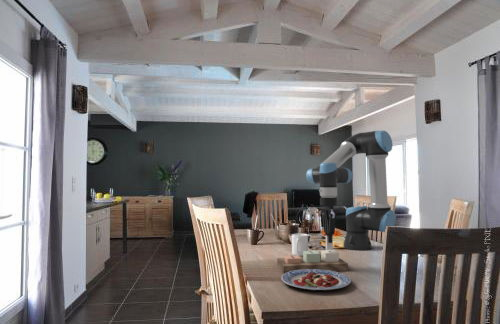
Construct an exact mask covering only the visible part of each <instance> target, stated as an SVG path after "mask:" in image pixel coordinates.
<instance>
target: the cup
mask: <svg viewBox="0 0 500 324" xmlns="http://www.w3.org/2000/svg"><path fill="white" fill-rule="evenodd" d="M303 251H309V235H308V234H307V233H293V234H291V254H292V255H298V256H299V257H303Z"/></svg>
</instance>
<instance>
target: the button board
mask: <svg viewBox="0 0 500 324" xmlns="http://www.w3.org/2000/svg"><path fill="white" fill-rule="evenodd" d="M299 257H300V258H301V263H291V264H287V263H286V262H285V257H277V260H276V261H277V266H278V268H279V267H280V268H279V269H280V270H281V272H282V273H283V274H285V273H287V272H290V271H294V270H301V269H321V270H330V271H335V272H345V271H349V263H348V262H347V261H345V260H344V259H341V257H339V262H324V261H323V260H321V256H320V262H316V263H306V262H304V261H303V256H299Z"/></svg>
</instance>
